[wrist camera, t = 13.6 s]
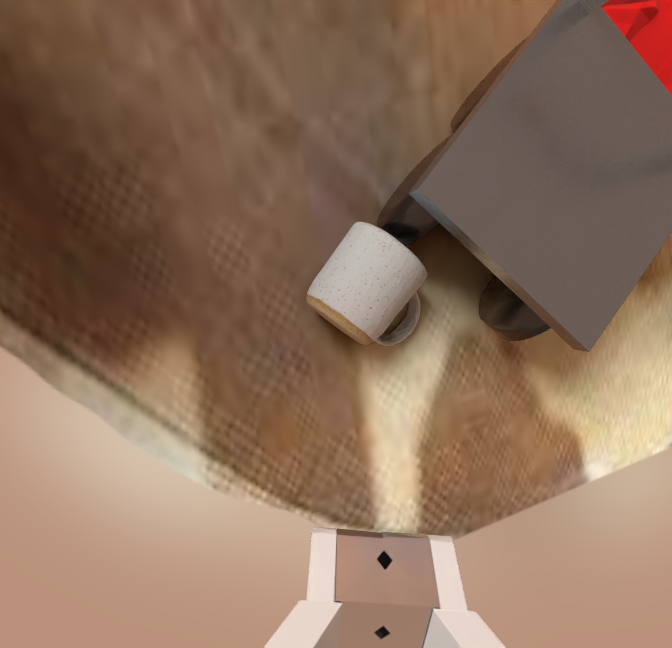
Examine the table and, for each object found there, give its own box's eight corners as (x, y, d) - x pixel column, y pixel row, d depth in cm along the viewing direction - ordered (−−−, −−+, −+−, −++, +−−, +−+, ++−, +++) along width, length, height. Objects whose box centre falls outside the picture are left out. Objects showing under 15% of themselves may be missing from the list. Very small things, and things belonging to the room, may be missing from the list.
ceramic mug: (291, 298, 43) (311, 302, 36) (344, 224, 44) (374, 213, 37) (381, 364, 46) (417, 380, 39) (430, 293, 47) (473, 296, 40)
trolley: (487, 342, 49) (782, 404, 24) (352, 223, 44) (544, 146, 19) (603, 181, 51) (985, 84, 26) (486, 51, 46) (814, -217, 22)
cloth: (735, 95, 56) (757, 88, 53) (668, 187, 54) (688, 183, 52) (594, -98, 49) (613, -116, 47) (514, 0, 47) (530, -14, 45)
